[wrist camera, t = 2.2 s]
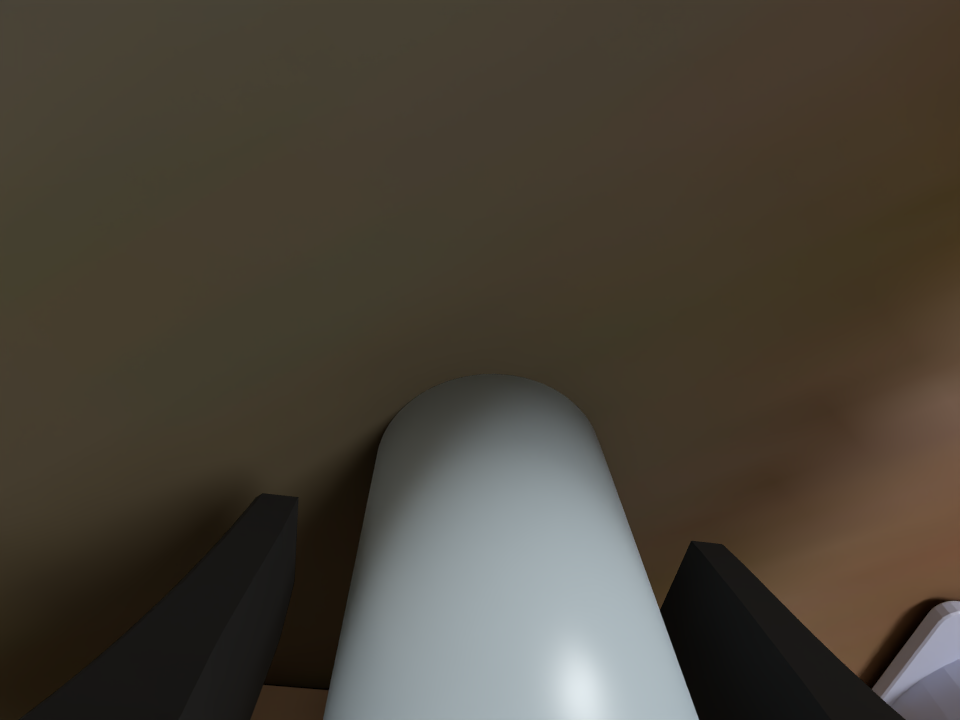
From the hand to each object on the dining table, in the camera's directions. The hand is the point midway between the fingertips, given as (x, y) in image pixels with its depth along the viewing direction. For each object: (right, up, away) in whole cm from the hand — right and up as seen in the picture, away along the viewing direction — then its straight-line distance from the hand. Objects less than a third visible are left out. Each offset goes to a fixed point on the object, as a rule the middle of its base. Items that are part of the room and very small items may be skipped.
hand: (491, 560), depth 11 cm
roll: (0, +1, +2) cm, 3 cm away
